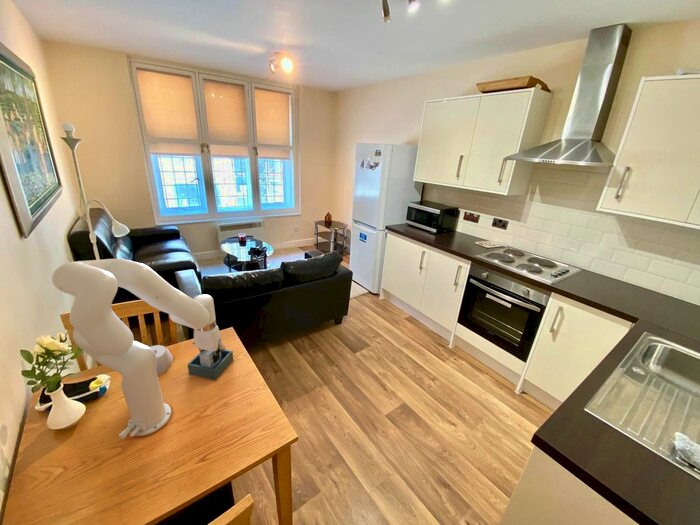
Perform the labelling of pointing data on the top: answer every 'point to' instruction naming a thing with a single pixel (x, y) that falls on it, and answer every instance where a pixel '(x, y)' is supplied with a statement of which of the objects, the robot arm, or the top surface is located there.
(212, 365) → the medicine box
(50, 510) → the top surface
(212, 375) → the tub
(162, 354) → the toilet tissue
